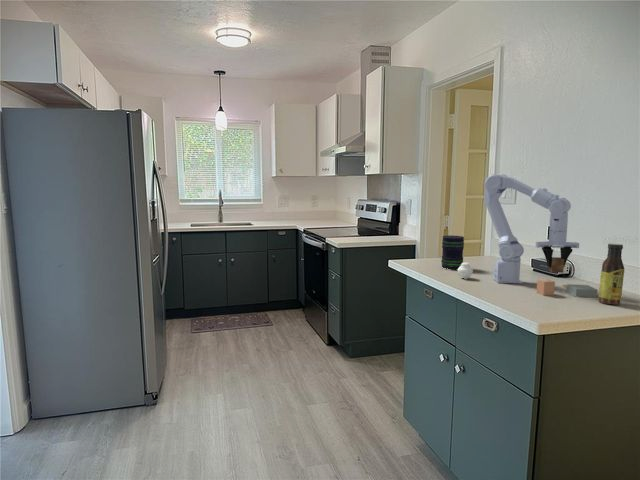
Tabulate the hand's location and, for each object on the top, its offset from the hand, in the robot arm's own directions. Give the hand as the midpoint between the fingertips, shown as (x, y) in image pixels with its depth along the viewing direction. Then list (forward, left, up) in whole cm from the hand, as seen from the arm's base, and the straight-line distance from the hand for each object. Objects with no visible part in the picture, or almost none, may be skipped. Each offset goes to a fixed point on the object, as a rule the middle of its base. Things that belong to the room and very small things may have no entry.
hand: (555, 266), depth 158 cm
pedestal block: (+7, -7, -9) cm, 13 cm away
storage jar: (-32, +35, -9) cm, 49 cm away
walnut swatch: (+8, +3, -9) cm, 12 cm away
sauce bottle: (+11, -18, -9) cm, 23 cm away
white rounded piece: (-30, +13, -9) cm, 34 cm away
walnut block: (0, 0, -2) cm, 2 cm away
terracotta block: (-6, -9, -9) cm, 14 cm away
